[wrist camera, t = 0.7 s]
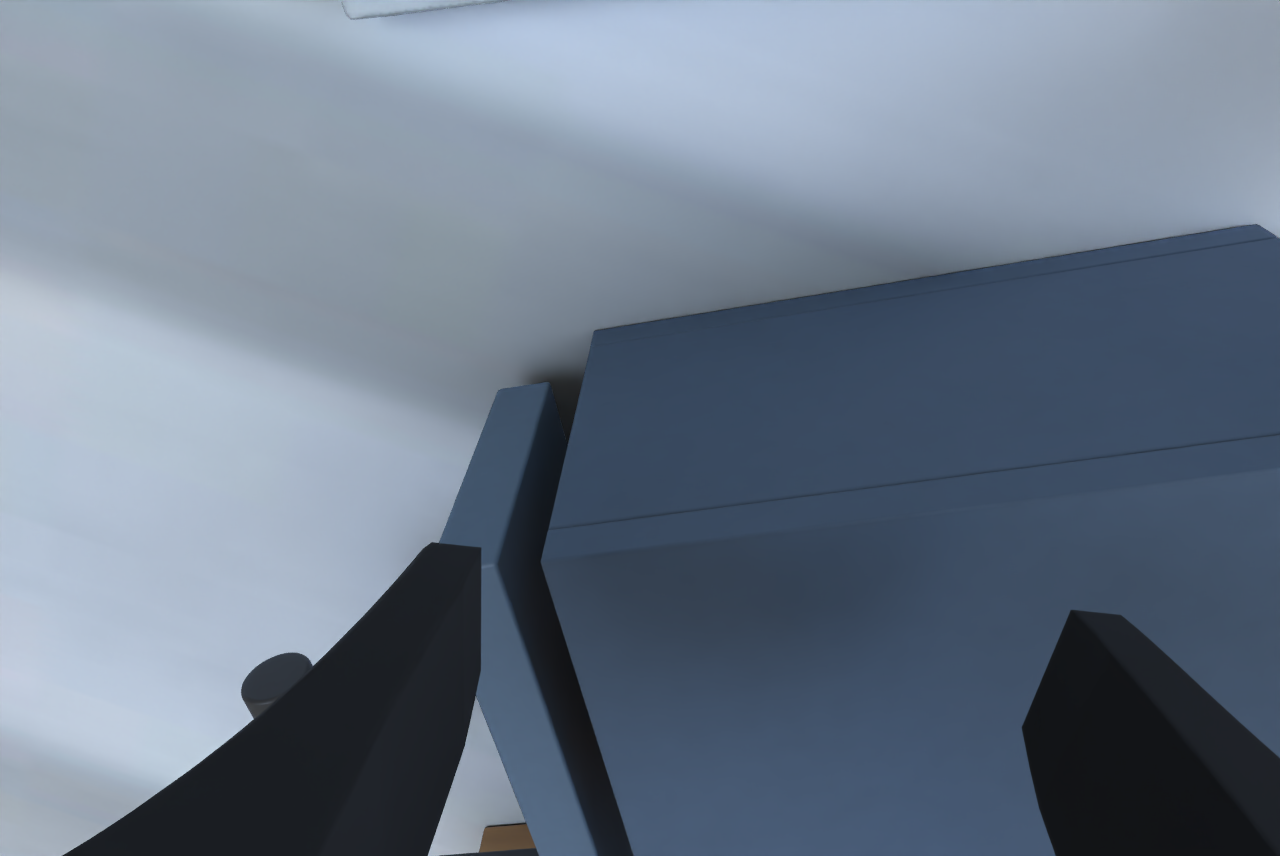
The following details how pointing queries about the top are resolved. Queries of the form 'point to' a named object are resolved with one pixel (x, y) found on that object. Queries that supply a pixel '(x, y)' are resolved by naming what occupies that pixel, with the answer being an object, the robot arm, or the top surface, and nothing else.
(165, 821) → the robot arm
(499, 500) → the drawer
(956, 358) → the cabinet
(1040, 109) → the top surface
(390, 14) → the hard drive
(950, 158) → the top surface
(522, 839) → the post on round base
